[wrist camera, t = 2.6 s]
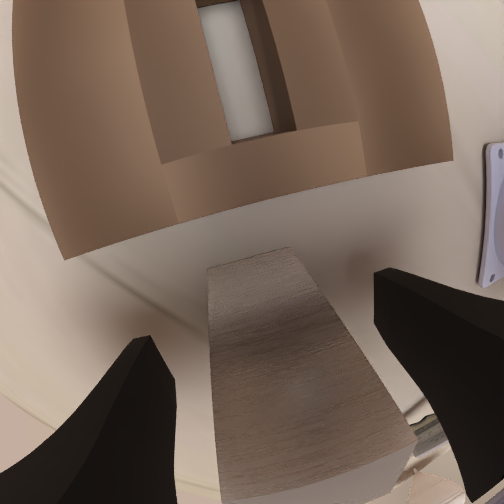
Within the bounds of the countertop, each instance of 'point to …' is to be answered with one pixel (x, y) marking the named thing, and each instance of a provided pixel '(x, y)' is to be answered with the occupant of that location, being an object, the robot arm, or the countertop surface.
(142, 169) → the socket block
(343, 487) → the peg
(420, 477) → the spinning top
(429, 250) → the countertop surface
